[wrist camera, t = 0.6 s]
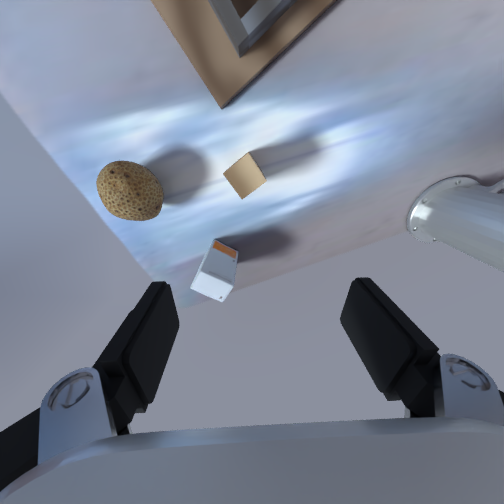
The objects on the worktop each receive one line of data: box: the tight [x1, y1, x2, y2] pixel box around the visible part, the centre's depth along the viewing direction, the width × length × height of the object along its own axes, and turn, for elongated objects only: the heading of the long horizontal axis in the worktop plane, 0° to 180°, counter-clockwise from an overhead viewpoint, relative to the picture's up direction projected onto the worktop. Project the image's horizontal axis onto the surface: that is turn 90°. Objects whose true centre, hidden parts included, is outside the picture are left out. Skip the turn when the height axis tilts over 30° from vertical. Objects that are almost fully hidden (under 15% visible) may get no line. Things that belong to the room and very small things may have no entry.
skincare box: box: [190, 239, 238, 302], centre depth 36 cm, size 6×4×12 cm
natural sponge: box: [96, 161, 164, 221], centre depth 30 cm, size 9×9×10 cm
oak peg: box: [223, 152, 266, 199], centre depth 29 cm, size 4×4×10 cm
